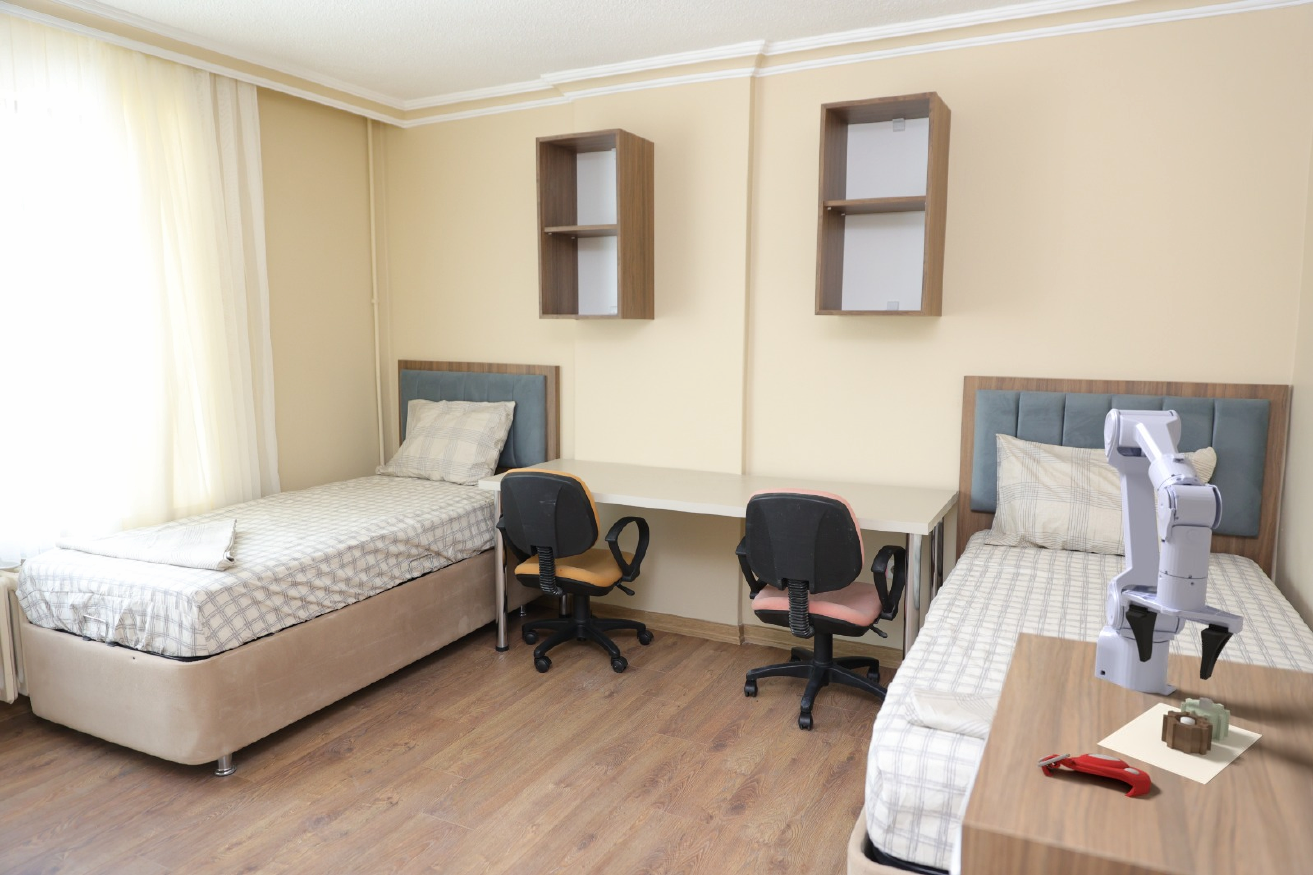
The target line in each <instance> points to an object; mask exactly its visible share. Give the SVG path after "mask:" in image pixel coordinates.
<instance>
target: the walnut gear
mask: <svg viewBox="0 0 1313 875" xmlns="http://www.w3.org/2000/svg"><path fill="white" fill-rule="evenodd" d="M1181 717H1189V718H1192V719H1194V720H1195V725H1188V724H1185V723H1182V722H1181ZM1212 731H1213V723H1208V722H1207V718H1205V717H1203V716H1197V715H1194V714H1191V713H1190V712H1187V711H1184V712H1174V711H1172V710H1171V711H1168V715H1165V714H1163V725H1162V737H1161V741H1164V742H1166V743H1167V747H1169V748H1171V749H1173V748H1174V749H1177V750H1180V751H1183V752H1184V753H1185V754H1190V753H1199V754H1201V755H1205V754H1206V752H1207V750H1209V751H1211V742H1212Z"/></svg>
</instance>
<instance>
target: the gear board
mask: <svg viewBox="0 0 1313 875" xmlns="http://www.w3.org/2000/svg"><path fill="white" fill-rule="evenodd" d="M1224 707H1225V706H1224V705H1223V704H1222V703H1214V700H1212V699H1211V698H1207V697H1199V699H1192V698H1190V697H1188V698H1185V702H1184V701H1181V704H1180V708H1178V707H1176V706H1172V705H1170V704H1166V703H1163V702H1158V703H1157V704H1155V705H1154V706H1153V707H1151V708H1150V709H1148V710H1146V711H1145V712H1143V713H1141V715H1139V716H1137V717H1136V718H1134V719H1132V720H1131V721H1130V722H1128V723H1126V724H1125V725H1123V726H1122V727H1120V728H1119V729H1117V730H1116V731H1115V732H1112V733H1111V734H1110V735H1108V736H1106V737H1105V738H1104V739H1101V740H1100V741H1099V742H1097V743H1096V745H1097V746H1100V747H1103V748H1106V749H1108V750H1112V751H1113V752H1117V753H1119V754H1122V755H1124V756H1126V757H1130V758H1132V759H1136V760H1139V761H1141V762H1143V763H1145V764H1149V765H1152V766H1155V767H1157V768H1160V769H1162V770H1165V771H1167V772H1170V773H1173V774H1176V775H1178V776H1181V777H1183V778H1186V779H1189V780H1192V781H1195V782H1196V783H1200V784H1203V785H1207V784H1208V783H1209V782H1210V781H1211V780H1213V779H1214V778H1215V777H1216V776H1217V775H1218V774H1219V773H1221V772H1222V771H1223V770H1225V768H1227V766H1229V765H1230V764H1231V763H1232V762H1234V760H1236V759H1238V757H1239V756H1241V755H1242V753H1244V752H1245V751H1246V750H1247V749H1249V747H1251V746H1252V745H1253V744H1255V743H1256V742H1257V741H1258V740H1259V739H1261V738H1262V736H1263V734H1259V733H1257V732H1253V731H1250V730H1247V729H1244V728H1241V727H1238V726H1234V725H1232V724H1230V718H1231V711H1230V710H1228V709H1225V708H1224ZM1171 710H1172V711H1174V712H1184V711H1187V712H1190V713H1191V714H1194V715H1197V716H1203V717H1205V718H1207V722H1208V723H1213V731H1212V742H1211V751H1209V750H1207V752H1206V754H1205V755H1201V754H1199V753H1190V754H1185V753H1184V752H1183V751H1180V750H1177V749H1174V748H1173V749H1171V748H1169V747H1167V743H1166V742H1164V741H1161V737H1162V725H1163V714H1165V715H1168V711H1171ZM1181 722H1182V723H1185V724H1188V725H1195V720H1194V719H1192V718H1189V717H1181Z"/></svg>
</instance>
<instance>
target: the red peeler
mask: <svg viewBox="0 0 1313 875" xmlns="http://www.w3.org/2000/svg"><path fill="white" fill-rule="evenodd" d="M1061 766H1063V767H1065V768H1068V769H1070V770H1073V771H1077V772H1082V773H1086V774H1091V775H1097V776H1103V777H1107V778H1111V779H1117V780H1120V781H1122V782H1125V783H1127V784H1129V785H1130V786H1132V788H1131V789H1130V791H1129V792H1128V793H1126V794H1124V796H1125V797H1128V798H1134V797H1140V796H1144V795H1148V793H1149V792H1150V790H1151V786H1152V781H1151V777H1150V775H1149V774H1148V773H1147V772H1146V771H1143V770H1141V769H1138V768H1136V767H1134V766H1130V765H1129V764H1128V763H1127V762H1126V761H1124V760H1122V759H1120V758H1117V757H1114V756H1110V755H1105V754H1100V753H1099V754H1098V753H1097V754H1096V753H1085V754H1081V755H1079V756H1078V757H1076V756H1075V757H1073V756H1071V754H1070V753H1068V752H1067V753H1065V754H1062V755H1060V754H1052V753H1051V754H1048V755H1047V756H1046V755H1045V756H1043V757H1041V758H1039V759H1038V760H1037V767H1038V768H1041V770H1042V771H1043V773H1044V775H1046V776H1049V777H1054V775H1053V774H1052V773H1051V772H1050V771H1049V769H1048V767H1049V768H1053V769H1059V768H1060V767H1061Z"/></svg>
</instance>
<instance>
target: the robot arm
mask: <svg viewBox="0 0 1313 875" xmlns="http://www.w3.org/2000/svg"><path fill="white" fill-rule="evenodd" d="M1103 435H1104V437H1103V438H1104V451H1105V457H1106V463H1107V464H1109V466H1112V467H1114V468H1115V469H1117V474H1118V479H1119V484H1120V496H1121V497H1120V498H1121V513H1122V527H1123V529H1122V530H1123V541H1124V542H1123V543H1124V544H1123V545H1124V557H1125V558H1124V559H1125V570H1123V571H1122V572H1121V573H1119V574H1117V575H1115V576H1114V577H1113V578H1111V580H1110V581H1109V583H1108V585H1107V591H1106V592H1107V596H1106V603H1105V604H1106V605H1105V610H1106V611H1105V612H1106V613H1105V614H1106V619H1107V623H1108V624H1107V625H1105V626H1103V628H1102V629H1101V631H1100V632H1099V635H1098V639H1097V642H1096V655H1095V668H1094V677H1095V678H1097V679H1101V680H1103V681H1107V682H1110V683H1112V684H1116V685H1118V686H1120V687H1122V688H1123V689H1124V688H1125V689H1127V690H1131V691H1134V692H1139V693H1147V694H1160V695H1164V696H1169V695H1170V694H1172V693H1173V692H1175V691H1176V690H1177V686H1175V685H1172V684H1169V683H1167V679H1168V669H1169V668H1168V667H1169V657H1170V656H1169V655H1170V645H1171V644H1170V643H1171V641H1175V636H1177V635H1180V634H1181V633H1182V632H1183V630H1184V629H1185V626H1186V623H1187V622H1186V621H1189V622H1195V623H1197V624H1202V625H1206V626H1208V627H1205V628H1204V629H1202V630H1201V631H1200V638H1201V640H1200V641H1201V661H1200V666H1199V667H1200V668H1199V679H1200V680H1204V681H1207V680H1208V679H1210V678H1212V676H1213V675H1212V674H1213V671H1214V668H1215V665H1216V663H1217V661H1218V658H1219V657H1220V655H1221V653H1222V651H1223V650H1224V648H1225V646H1226V645H1227V643H1228V642H1229V641H1230V639H1231V638H1232V637H1233V636H1234V635H1236V634H1240V633H1241V632H1242V631H1243V628H1244V619H1245V618H1244V616H1242V615H1238V614H1234V613H1232V612H1229V611H1224V610H1222V609H1219V608H1216V607H1213V606H1210V605H1208V604H1206V600H1207V587H1208V578H1209V566H1210V565H1209V564H1210V558H1211V557H1210V556H1211V555H1210V554H1211V546H1212V537H1213V536H1212V534H1213V530H1216V529H1217V528H1218V527H1219V525H1220V523H1221V521H1222V514H1223V500H1222V495H1221V492H1220V490H1219V488H1218V486H1217V485H1215V484H1210V483H1207V482H1206V483H1204V482H1203V480H1202V478H1201V476H1200V474H1199V473H1198V471H1197V468H1196V467H1195V465H1194V464H1193V462H1192V460H1191V459H1190V458H1189V457H1188V456H1186V455H1185V454H1183V453H1179V450H1178V445H1179V444H1180V440H1181V435H1182V421H1181V418H1180V415H1179V413H1178V412H1177V410H1176V411H1175V409H1169V410H1149V409H1148V410H1144V409H1140V410H1139V409H1136V410H1135V409H1117V408H1111V409H1110V410H1109V412H1108V413H1107V414H1106V416H1105V421H1104V429H1103ZM1155 493H1156V495H1157V504H1156V497H1155V496H1156V495H1155ZM1156 507H1157V508H1156ZM1157 518H1158V520H1157ZM1159 537H1160V538H1161V540H1160V544H1159ZM1159 546H1160V547H1159Z"/></svg>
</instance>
